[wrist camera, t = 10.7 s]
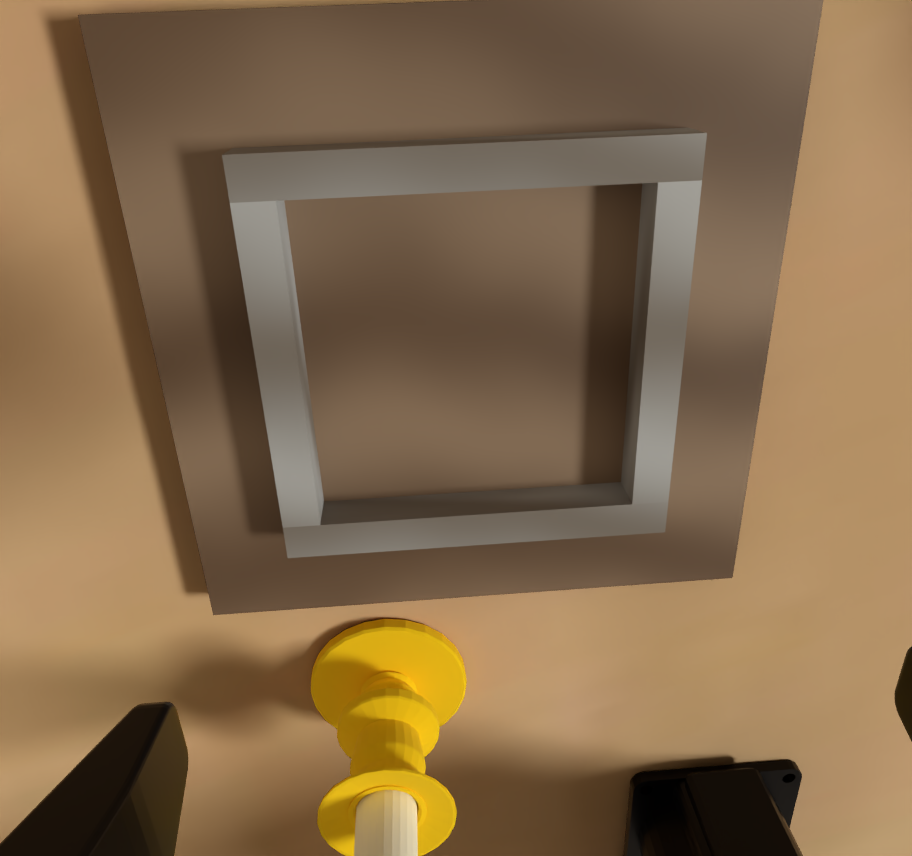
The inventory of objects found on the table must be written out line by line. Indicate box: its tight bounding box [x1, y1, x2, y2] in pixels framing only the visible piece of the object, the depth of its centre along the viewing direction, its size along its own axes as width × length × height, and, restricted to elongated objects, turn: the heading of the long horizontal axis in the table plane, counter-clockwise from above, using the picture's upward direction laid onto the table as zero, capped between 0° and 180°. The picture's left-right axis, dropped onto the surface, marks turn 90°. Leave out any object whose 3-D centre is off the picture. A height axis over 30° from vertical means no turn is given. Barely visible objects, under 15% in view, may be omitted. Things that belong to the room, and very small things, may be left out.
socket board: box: [78, 0, 823, 615], centre depth 20 cm, size 16×16×2 cm
